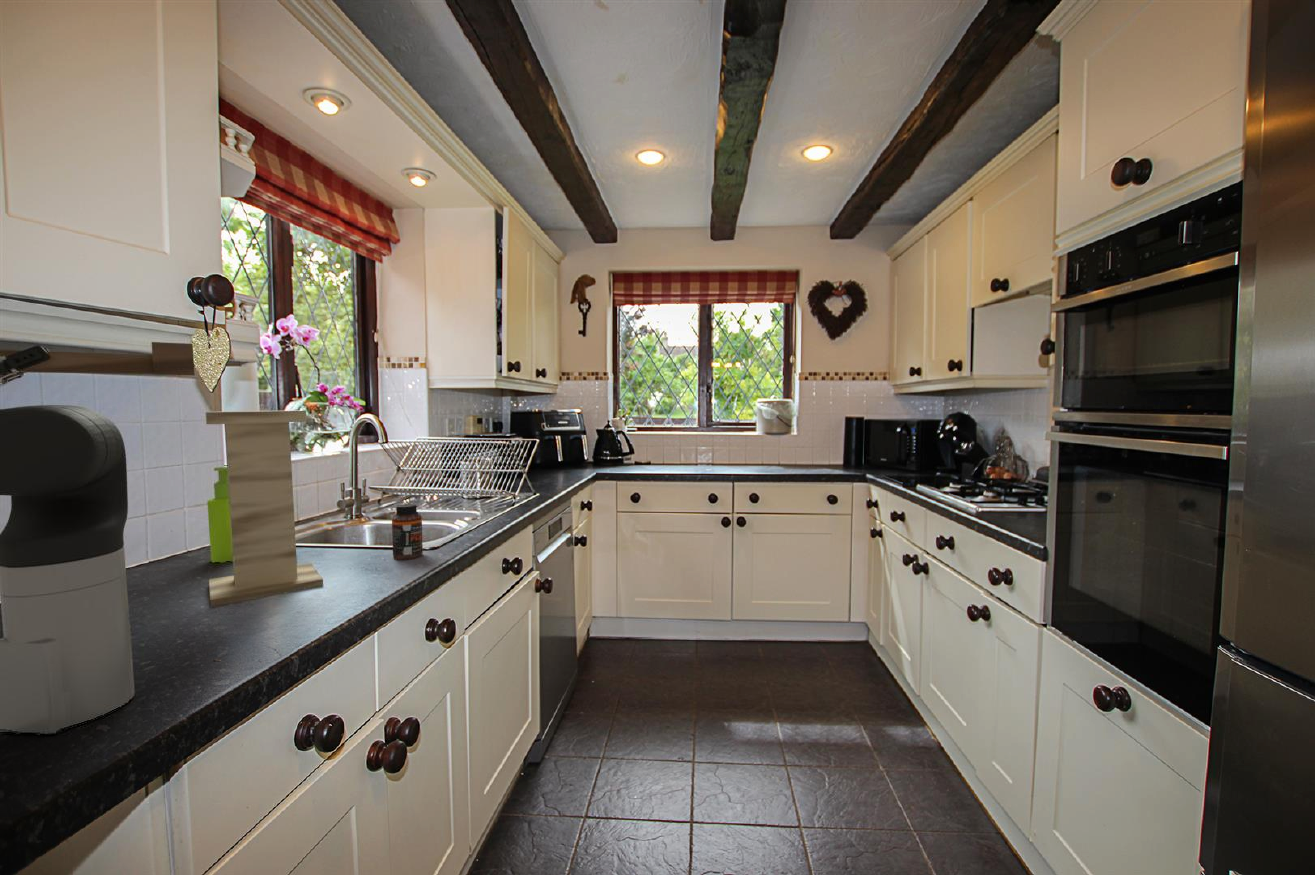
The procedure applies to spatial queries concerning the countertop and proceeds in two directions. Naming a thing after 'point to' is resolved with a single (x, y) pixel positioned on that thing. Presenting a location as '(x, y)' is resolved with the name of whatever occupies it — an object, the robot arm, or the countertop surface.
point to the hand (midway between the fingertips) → (47, 352)
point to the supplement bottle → (407, 532)
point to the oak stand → (260, 507)
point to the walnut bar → (119, 361)
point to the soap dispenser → (220, 520)
